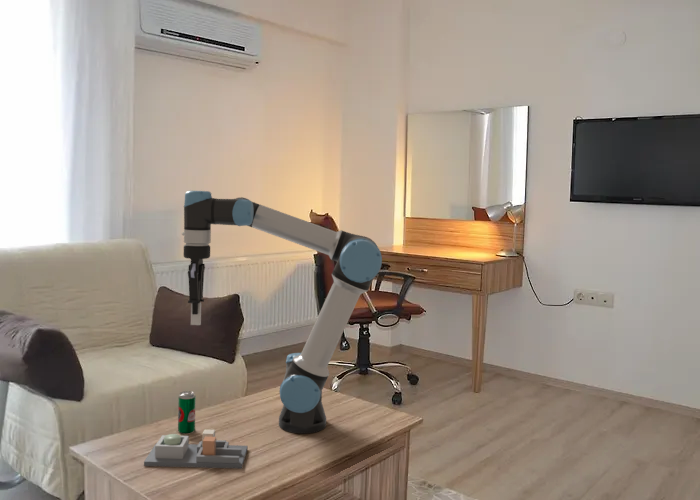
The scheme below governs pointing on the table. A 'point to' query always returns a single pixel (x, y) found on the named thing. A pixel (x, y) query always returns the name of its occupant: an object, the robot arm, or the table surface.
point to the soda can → (186, 412)
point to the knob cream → (207, 434)
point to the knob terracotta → (209, 446)
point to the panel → (196, 455)
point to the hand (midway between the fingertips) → (195, 324)
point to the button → (172, 439)
